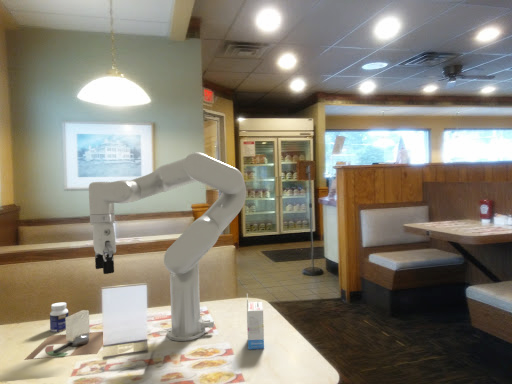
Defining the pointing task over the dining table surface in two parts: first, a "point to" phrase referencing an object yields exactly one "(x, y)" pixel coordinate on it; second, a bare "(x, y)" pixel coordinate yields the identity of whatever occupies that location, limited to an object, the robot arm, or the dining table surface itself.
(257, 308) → the ink box
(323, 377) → the dining table surface
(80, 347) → the brown flat square slab
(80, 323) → the white piece
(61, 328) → the pill bottle
